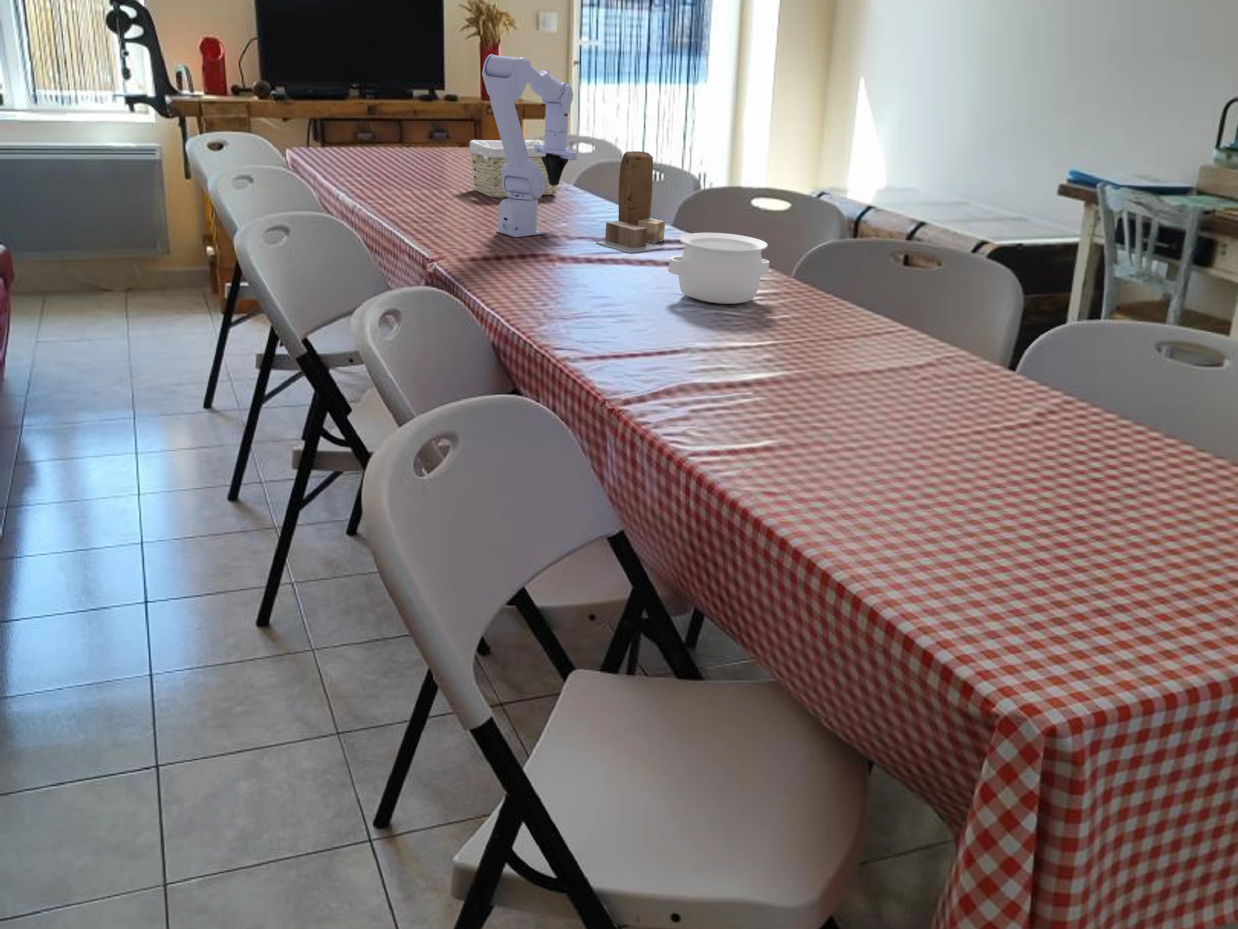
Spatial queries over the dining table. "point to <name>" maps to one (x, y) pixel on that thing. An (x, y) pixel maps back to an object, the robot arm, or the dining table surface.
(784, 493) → the dining table surface
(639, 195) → the block
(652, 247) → the mat
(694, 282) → the pot
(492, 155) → the storage basket
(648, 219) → the oak cube
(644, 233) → the walnut pillar
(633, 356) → the dining table surface
